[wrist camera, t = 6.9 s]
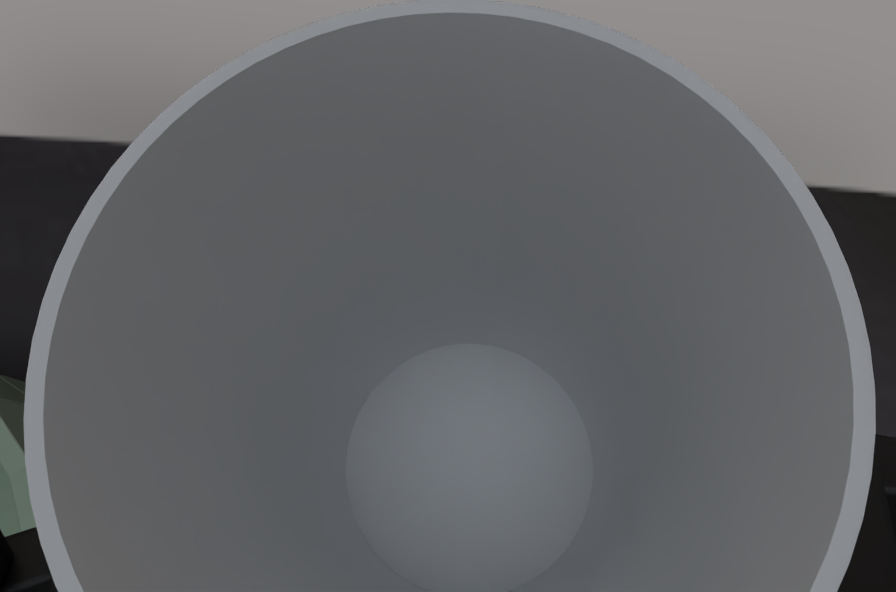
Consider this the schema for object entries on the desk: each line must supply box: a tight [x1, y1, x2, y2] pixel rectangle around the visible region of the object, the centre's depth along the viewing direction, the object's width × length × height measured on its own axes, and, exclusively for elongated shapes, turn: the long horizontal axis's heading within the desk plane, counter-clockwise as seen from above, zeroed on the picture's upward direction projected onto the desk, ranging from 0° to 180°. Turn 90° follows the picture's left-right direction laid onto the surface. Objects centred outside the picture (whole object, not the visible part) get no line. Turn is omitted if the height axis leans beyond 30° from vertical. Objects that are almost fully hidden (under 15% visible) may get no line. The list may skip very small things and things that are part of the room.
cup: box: [23, 0, 876, 592], centre depth 14 cm, size 8×8×16 cm
